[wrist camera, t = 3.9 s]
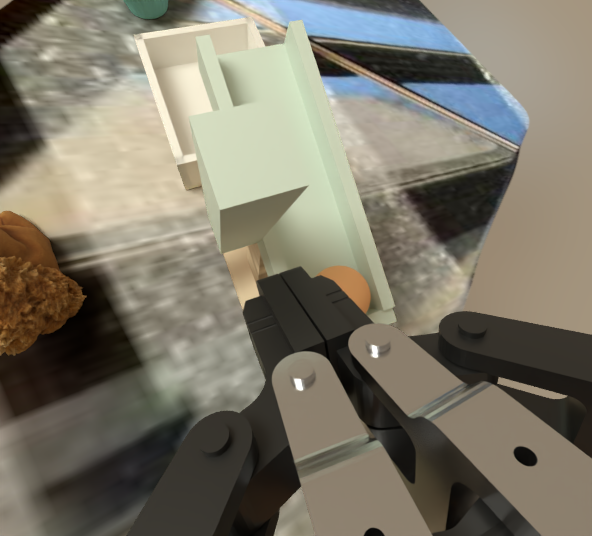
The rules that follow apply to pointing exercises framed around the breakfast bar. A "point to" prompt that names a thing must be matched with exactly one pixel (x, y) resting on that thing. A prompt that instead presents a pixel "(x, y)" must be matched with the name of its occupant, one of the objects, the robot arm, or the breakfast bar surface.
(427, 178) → the breakfast bar surface
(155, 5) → the cupcake
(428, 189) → the breakfast bar surface
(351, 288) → the ball
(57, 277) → the stuffed squirrel
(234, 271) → the fulcrum stand
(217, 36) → the tub
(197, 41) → the tilting chute
